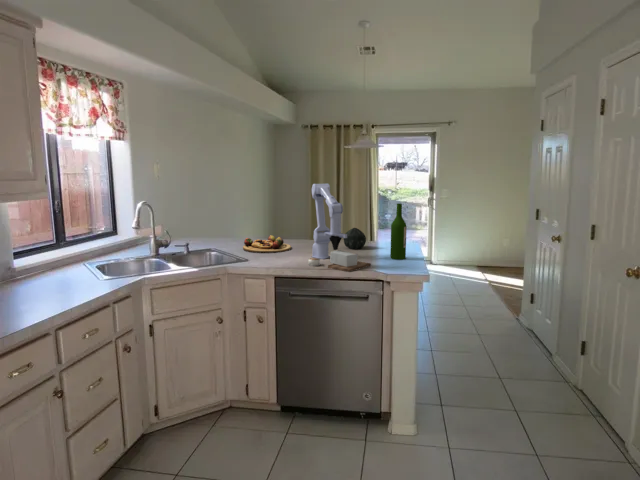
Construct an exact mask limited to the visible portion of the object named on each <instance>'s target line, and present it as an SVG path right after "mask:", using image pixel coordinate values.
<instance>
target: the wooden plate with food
mask: <svg viewBox="0 0 640 480" xmlns="http://www.w3.org/2000/svg"><path fill="white" fill-rule="evenodd" d="M243 243H244V245H243V246H242V250H244V252H249V253H254V254H277V253H283V252H288V251H290V250H291V249H292V246H291V245H290V244H288V243H284V238H282V237H280V236H278V237H277V238H276V237H275V236H274V235H272V234H271V235H269V236H268V238H267V239H264V240H263V239H255V240H253V239H251V238H249V237H246V238H245V240H244V242H243Z"/></svg>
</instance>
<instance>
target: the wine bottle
mask: <svg viewBox="0 0 640 480" xmlns="http://www.w3.org/2000/svg"><path fill="white" fill-rule="evenodd" d="M395 212H396V216H395V218H394V219H393V221H392V223H391V226H390V256H389V257H390V260H391V259H392V260H397V261H402V260H405V259H406V255H407V251H406V250H407V223H406V221H405V220H404V218H403V215H402V214H403V203H396V211H395Z"/></svg>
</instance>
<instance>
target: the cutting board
mask: <svg viewBox="0 0 640 480" xmlns="http://www.w3.org/2000/svg"><path fill="white" fill-rule="evenodd" d="M370 265H371V266H372V263H370V262H364V261H360V260H359V261H358V260H357V265H355V266H350V267H345V266H341V265H337V264H333V263H330V264H328V265H327V269H331V268H332V270H337V271H342V272H348V273H350V272H353V271H357V270H360V269H364V268H367V267H370ZM366 266H367V267H366ZM363 267H364V268H363ZM359 268H360V269H359ZM356 269H357V270H356Z"/></svg>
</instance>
